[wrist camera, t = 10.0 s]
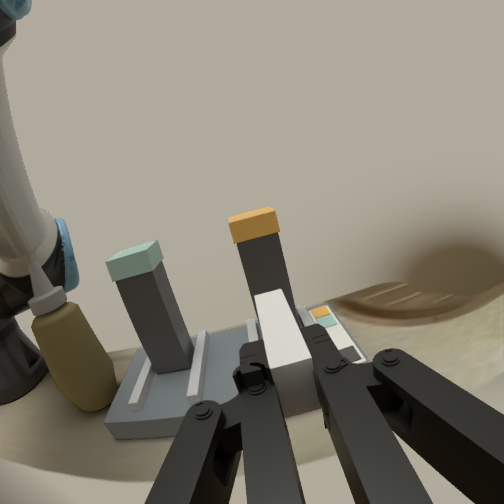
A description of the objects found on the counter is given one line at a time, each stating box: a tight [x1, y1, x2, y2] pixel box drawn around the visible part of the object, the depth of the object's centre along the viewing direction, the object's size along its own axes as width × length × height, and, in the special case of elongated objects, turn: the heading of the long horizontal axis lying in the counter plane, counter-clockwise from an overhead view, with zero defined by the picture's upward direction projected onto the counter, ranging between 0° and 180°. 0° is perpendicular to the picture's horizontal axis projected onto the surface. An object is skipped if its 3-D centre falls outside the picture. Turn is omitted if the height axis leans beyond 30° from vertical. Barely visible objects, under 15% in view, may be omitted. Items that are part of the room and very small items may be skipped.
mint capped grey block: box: [106, 240, 194, 374], centre depth 29 cm, size 4×4×13 cm
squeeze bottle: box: [28, 261, 118, 412], centre depth 28 cm, size 8×8×18 cm
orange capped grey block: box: [229, 207, 300, 336], centre depth 31 cm, size 4×4×13 cm
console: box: [104, 303, 370, 439], centre depth 29 cm, size 25×14×4 cm, turn 94°
